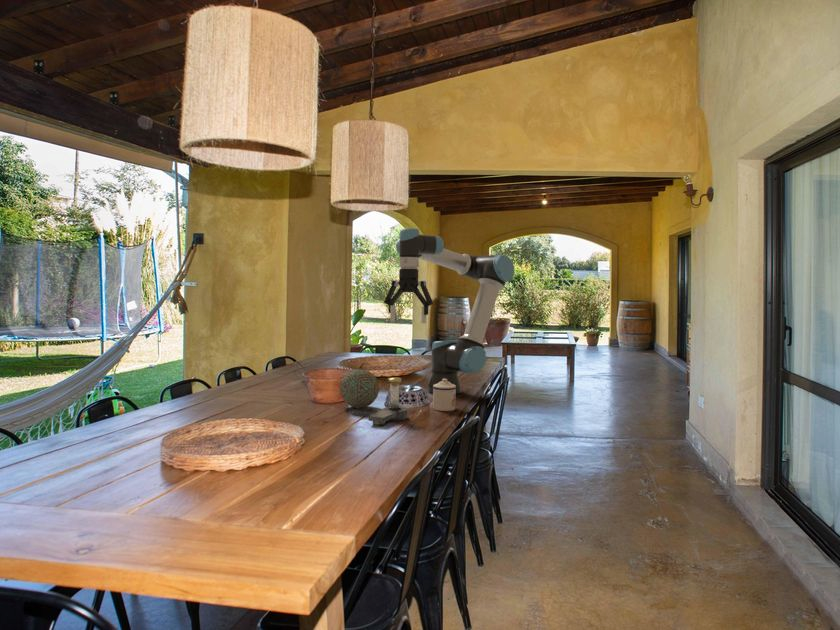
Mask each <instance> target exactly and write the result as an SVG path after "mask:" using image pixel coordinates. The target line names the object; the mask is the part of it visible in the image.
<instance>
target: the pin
mask: <svg viewBox="0 0 840 630" xmlns="http://www.w3.org/2000/svg"><path fill="white" fill-rule="evenodd" d="M387 383H389V384H390V385H389V394H390V395H389V407H390V410H399V407H400V383H402V378H401V377H396V376H394V377H388V378H387Z"/></svg>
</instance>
